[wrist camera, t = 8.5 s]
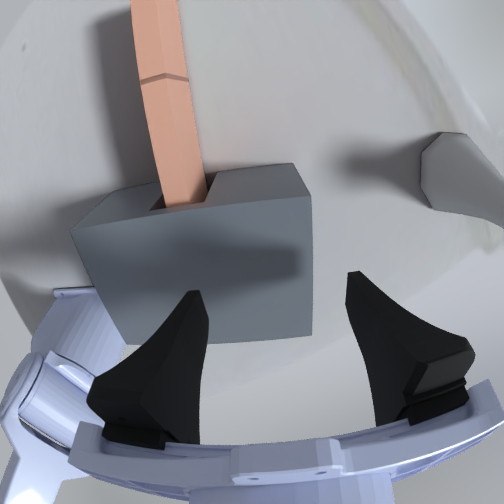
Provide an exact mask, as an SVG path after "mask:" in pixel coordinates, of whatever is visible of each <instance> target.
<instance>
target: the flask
mask: <svg viewBox="0 0 504 504" xmlns="http://www.w3.org/2000/svg"><path fill="white" fill-rule="evenodd" d="M420 187H421V188H422V190H423V192H424V193H425V195H426V197H427V199H428V200H429V202H430V204H431V206H432V208H433V209H434V210H437V211H443V212H450V213H457V214H463V215H468V216H473V217H477V218H482V219H486V220H488V221H490V222H492V223H494V224H496V225H498V226H500V227H502V228H503V229H504V178H503V176H502V175H501V174H500V173H499V171H498V170H497V169H496V168H495V167H494V165H493V164H492V163H491V162H490V161H489V160H488V158H487V157H486V156H485V155H484V154H483V152H482V151H481V150H480V149H479V148H478V146H477V145H476V144H475V143H474V142H473V141H472V139H471V138H470V137H469V136H468V135H467V134H457V133H442V134H441V135H440V136H439V137H438V138H437V139H436V140H435V141H434V142H433V143H432V144H430V145H429V146H428V147H427V148H426V149H425V150H424V151H423V152H422V153H421V185H420Z"/></svg>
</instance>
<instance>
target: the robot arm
mask: <svg viewBox="0 0 504 504" xmlns="http://www.w3.org/2000/svg"><path fill="white" fill-rule="evenodd" d="M53 294H54V296H55V298H56V300H55V302H54V303H53V304H52V306H51V307H50V309H49V310H48V312H47V313H46V315H45V316H44V318H43V319H42V321H41V322H40V324H39V325H38V327H37V329H36V330H35V332H34V334H33V337H32V341H31V353H29V354H27V355H26V356H25V358H24V359H23V360H22V362H21V363H20V364H19V366H18V367H17V369H16V371H15V372H14V374H13V376H12V378H11V380H10V382H9V384H8V386H7V389H6V391H5V395H4V397H3V399H2V402H1V404H0V423H1V426H2V428H3V430H4V432H5V434H6V436H7V438H8V440H9V442H10V444H11V446H12V447H13V449H14V450H13V453H12V455H11V458H10V460H9V463H8V465H7V468H6V470H5V473H4V476H3V479H2V481H1V484H0V504H53V503H54V500H55V498H56V495H57V492H58V490H59V487H60V485H61V482H62V481H64V480H69V479H75V478H82V477H87V476H92V477H94V478H96V479H99V480H102V481H105V482H109V483H112V484H115V485H118V486H122V487H125V488H129V489H133V490H136V491H140V492H145V493H148V494H153V495H157V496H162V497H167V498H173V499H178V500H184V501H189V504H395V500H394V495H393V490H392V484H391V483H393V482H396V481H399V480H401V479H404V478H407V477H409V476H412V475H414V474H417V473H419V472H422V471H424V470H426V469H429V468H431V467H433V466H435V465H437V464H440V463H442V462H444V461H446V460H448V459H450V458H452V457H454V456H456V455H458V454H460V453H461V452H464V451H465V450H467V449H469V448H471V447H473V446H475V445H477V444H478V443H480V442H481V441H483V440H484V439H485V438H487V437H488V436H489V435H490V434H491V433H493V432H494V431H495V430H496V429H497V428H499V427H500V426H501V425H502V424H503V423H504V411H503V409H502V406H501V404H500V402H499V399H498V397H497V395H496V393H495V391H494V388H493V386H492V385H491V382H490V380H489V379H487V380H485V381H483V382H481V383H479V384H476V385H474V386H472V387H471V388H469V389H468V390H467V391H466V389H465V386H464V385H466V380H465V378H464V376H465V374H466V373H467V371H468V370H469V368H470V367H471V365H472V364H473V362H474V359H475V352H474V350H473V348H472V347H471V345H470V343H469V342H468V340H467V339H466V338H465V337H461V336H458V335H455V334H452V333H449V332H447V331H445V330H442V329H440V328H437V327H435V326H433V325H431V324H429V323H427V322H425V321H424V320H421V319H420V318H418V317H417V316H415V315H413V314H412V313H410V312H409V311H407V310H406V309H404V308H403V307H401V306H400V305H399V304H397V303H396V302H395V301H393V300H392V299H391V298H390V297H388V296H387V295H386V294H385V293H384V292H383V291H381V290H380V289H379V288H378V287H377V286H376V285H375V284H374V283H372V282H371V281H370V280H369V279H368V278H367V277H366V276H365V275H364V274H363V273H361V272H360V271H355V272H348V277H347V290H346V301H345V305H346V309H347V313H348V317H349V321H350V324H351V326H352V329H353V332H354V334H355V337H356V339H357V342H358V345H359V347H360V350H361V352H362V355H363V358H364V361H365V365H366V369H367V373H368V378H369V383H370V387H371V393H372V399H373V405H374V412H375V421H376V427H374V428H370V429H366V430H362V431H357V432H352V433H348V434H343V435H338V436H332V437H325V438H313V439H306V440H298V441H288V442H278V443H262V444H248V445H200V435H199V434H200V433H199V403H200V383H201V375H202V369H203V364H204V358H205V353H206V347H207V342H208V334H209V317H208V314H207V311H206V308H205V305H204V302H203V299H202V296H201V293H200V290H191V291H187V292H186V294H185V295H184V296H183V298H182V299H181V300H180V302H179V303H178V304H177V306H176V307H175V308H174V310H173V311H172V312H171V314H170V315H169V316H168V317H167V319H166V320H165V321H164V322H163V324H162V325H161V326H160V327H159V328H158V329H157V331H156V332H155V333H154V334H153V335H152V336H151V337H150V338H149V339H148V340H147V341H146V342H145V343H144V344H143V345H142V346H141V347H139V348H138V349H137V350H136V351H135V352H133V353H132V354H131V355H130V356H129V357H127V358H126V359H125V360H123V361H122V362H120V363H119V361H120V358H121V355H122V353H123V350H124V347H125V345H126V343H125V341H124V340H123V338H122V336H121V335H120V333H119V331H118V330H117V328H116V326H115V324H114V323H113V321H112V319H111V317H110V316H109V314H108V312H107V310H106V308H105V306H104V305H103V303H102V301H101V299H100V297H99V295H98V293H97V291H96V289H95V287H90V288H74V289H56V290H55V291H54V292H53ZM118 363H119V364H118ZM18 415H19V416H20V417H21V418H23V419H24V420H26V421H27V422H28V423H30V424H31V425H33V426H34V427H36V428H37V429H39V430H40V431H42V432H43V433H45V434H46V435H48V436H49V437H51V438H53V439H54V440H56V441H58V442H59V443H61V444H63V445H64V446H66V447H63V446H60V445H58V444H57V443H55V442H53V441H51V440H50V439H48V438H47V437H45V436H43V435H42V434H40V433H39V432H37V431H36V430H35V429H33V428H32V427H30V426H29V425H27V424H26V423H24V422H23V421H22V420H21V419H19V417H18ZM67 447H68V448H67Z"/></svg>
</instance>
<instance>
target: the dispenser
mask: <svg viewBox="0 0 504 504" xmlns="http://www.w3.org/2000/svg"><path fill="white" fill-rule="evenodd" d="M70 233H71V236H72V238H73V241H74V243H75V246H76V248H77V250H78V253H79V255H80V257H81V259H82V262H83V264H84V266H85V268H86V270H87V273H88V275H89V277H90V279H91V281H92V283H93V285H94V287H95V289H96V291H97V293H98V295H99V297H100V299H101V301H102V303H103V305H104V306H105V308H106V310H107V312H108V314H109V316H110V317H111V319H112V321H113V323H114V324H115V326H116V328H117V330H118V331H119V333H120V335H121V336H122V338H123V340H124V341H125V343H126V344H129V345H143V344H144V343H145V342H146V341H147V340H148V339H149V338H150V337H151V336H152V335H153V334H154V333H155V332H156V331H157V329H158V328H159V327H160V326H161V325H162V324H163V322H164V321H165V320H166V319H167V317H168V316H169V315H170V314H171V312H172V311H173V310H174V308H175V307H176V306H177V304H178V303H179V302H180V300H181V299H182V298H183V296H184V295H185V294H186V292H187V291H191V290H200V293H201V296H202V299H203V302H204V305H205V308H206V311H207V314H208V317H209V334H208V342H207V344H219V343H237V342H251V341H264V340H275V339H285V338H294V337H303V336H311V335H312V312H313V237H312V204H311V195H310V193H309V191H308V189H307V187H306V186H305V184H304V182H303V180H302V178H301V176H300V175H299V173H298V171H297V169H296V168H295V166H294V164H293V163H290V164H279V165H269V166H259V167H251V168H243V169H235V170H227V171H220V172H217V174H216V177H215V179H214V181H213V183H212V186H211V188H210V190H209V192H208V195H207V197H206V199H205V202H203V203H196V204H189V205H182V206H176V207H169V208H167V207H166V203H165V199H164V195H163V191H162V187H161V183H160V182H155V183H150V184H145V185H140V186H135V187H131V188H126V189H122V190H117V191H114V192H112V193H111V194H110V195H109V196H108V197H106V198H105V199H104V200H103V201H102V202H101V203H100V204H98V205H97V206H96V207H95V208H94V209H93V210H92V211H90V212H89V213H88V214H87V215H86V216H85V217H84V218H83V219H82V220H81V221H79V222H78V223H77V224H76V225H75V226H74V227H73V228H72V229H71V230H70Z"/></svg>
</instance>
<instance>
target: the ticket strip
mask: <svg viewBox="0 0 504 504" xmlns="http://www.w3.org/2000/svg"><path fill="white" fill-rule="evenodd" d="M130 4H131V15H132V25H133V34H134V43H135V51H136V58H137V65H138V72H139V78H140V80H139V81H140V85H141V91H142V96H143V102H144V108H145V113H146V118H147V123H148V129H149V133H150V138H151V143H152V148H153V152H154V157H155V161H156V166H157V170H158V174H159V179H160V183H161V187H162V191H163V195H164V199H165V203H166V207H167V208H169V207H176V206H182V205H189V204H196V203H203V202H205V199H206V197H207V195H208V189H207V184H206V179H205V174H204V168H203V163H202V158H201V152H200V147H199V141H198V135H197V130H196V124H195V118H194V112H193V106H192V100H191V94H190V88H189V79H188V75H187V68H186V62H185V55H184V48H183V41H182V34H181V26H180V19H179V11H178V3H177V0H130Z"/></svg>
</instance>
